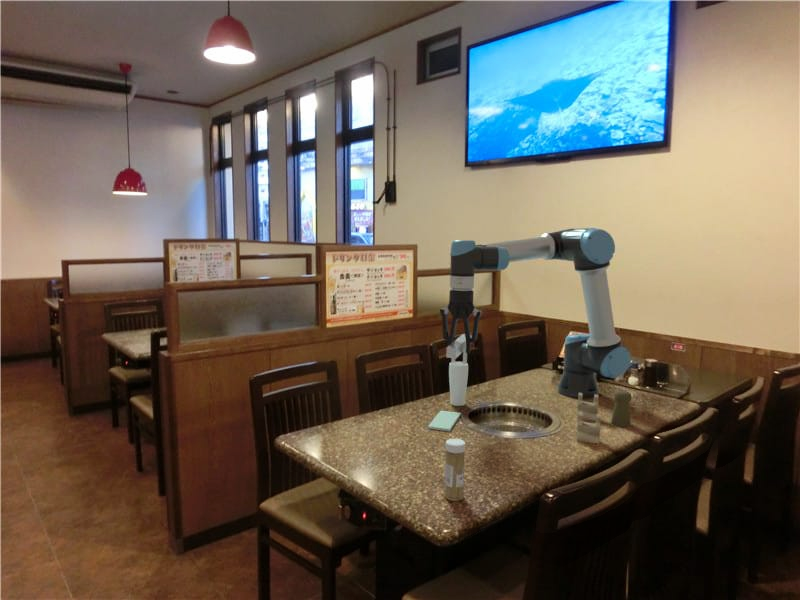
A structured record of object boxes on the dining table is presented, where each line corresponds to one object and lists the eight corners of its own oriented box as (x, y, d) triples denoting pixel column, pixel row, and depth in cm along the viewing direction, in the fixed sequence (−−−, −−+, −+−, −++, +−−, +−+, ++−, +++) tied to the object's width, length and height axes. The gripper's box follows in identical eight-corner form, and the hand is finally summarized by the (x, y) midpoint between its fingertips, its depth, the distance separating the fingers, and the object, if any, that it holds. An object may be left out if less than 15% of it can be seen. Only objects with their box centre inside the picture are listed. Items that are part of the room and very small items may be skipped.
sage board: (440, 412, 182) (440, 410, 182) (460, 415, 180) (460, 412, 180) (427, 428, 167) (428, 426, 167) (449, 431, 165) (449, 429, 165)
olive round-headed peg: (632, 428, 170) (635, 394, 169) (612, 426, 171) (615, 393, 170) (628, 421, 176) (631, 389, 175) (609, 420, 177) (611, 388, 176)
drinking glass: (462, 400, 195) (463, 360, 194) (470, 406, 189) (471, 365, 187) (445, 402, 193) (446, 362, 191) (452, 408, 187) (453, 366, 185)
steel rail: (462, 342, 181) (462, 334, 181) (471, 343, 181) (471, 334, 180) (446, 357, 159) (446, 347, 158) (456, 358, 158) (456, 348, 158)
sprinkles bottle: (465, 501, 122) (467, 445, 120) (445, 502, 121) (447, 445, 120) (462, 492, 126) (463, 437, 124) (442, 492, 126) (444, 437, 124)
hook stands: (577, 415, 181) (578, 392, 180) (596, 417, 179) (598, 394, 178) (576, 441, 159) (578, 415, 158) (599, 443, 157) (600, 417, 156)
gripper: (433, 289, 166) (431, 362, 169) (485, 291, 161) (482, 367, 164) (439, 287, 173) (437, 357, 176) (489, 289, 168) (486, 362, 171)
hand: (459, 362), depth 170 cm, fingers closed on steel rail, 3 cm apart
